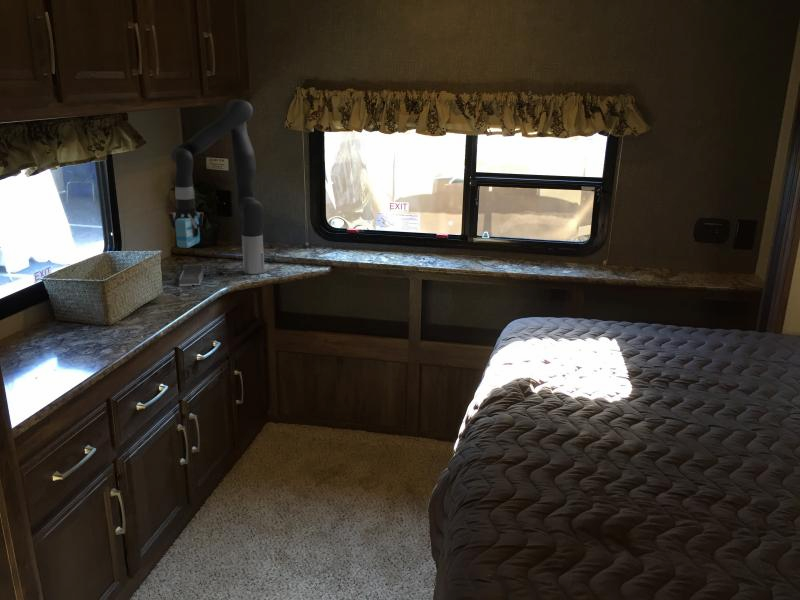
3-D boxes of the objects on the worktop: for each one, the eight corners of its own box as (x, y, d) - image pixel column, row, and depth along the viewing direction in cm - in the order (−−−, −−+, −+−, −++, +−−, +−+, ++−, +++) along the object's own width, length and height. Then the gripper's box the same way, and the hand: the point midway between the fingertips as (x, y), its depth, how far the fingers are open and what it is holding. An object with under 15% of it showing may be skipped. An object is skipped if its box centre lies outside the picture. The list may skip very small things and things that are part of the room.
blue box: (187, 248, 283) (184, 220, 280) (177, 248, 284) (174, 219, 280) (200, 242, 294) (198, 214, 291) (190, 241, 295) (188, 214, 292)
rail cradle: (203, 275, 302) (202, 264, 301) (199, 285, 287) (198, 274, 286) (184, 275, 301) (183, 265, 299) (179, 286, 286) (178, 275, 284)
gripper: (204, 195, 288) (206, 234, 293) (168, 195, 285) (172, 235, 291) (201, 198, 281) (204, 238, 286) (165, 198, 278) (169, 239, 284)
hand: (188, 236), depth 288 cm, fingers closed on blue box, 5 cm apart
